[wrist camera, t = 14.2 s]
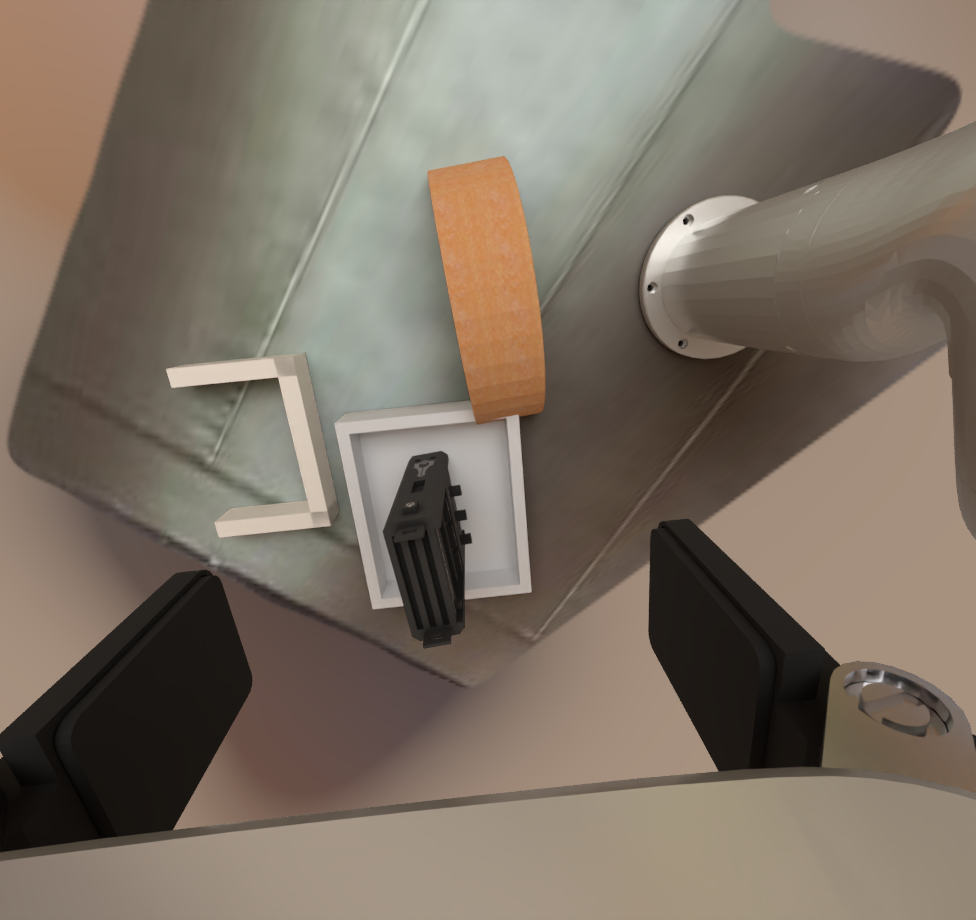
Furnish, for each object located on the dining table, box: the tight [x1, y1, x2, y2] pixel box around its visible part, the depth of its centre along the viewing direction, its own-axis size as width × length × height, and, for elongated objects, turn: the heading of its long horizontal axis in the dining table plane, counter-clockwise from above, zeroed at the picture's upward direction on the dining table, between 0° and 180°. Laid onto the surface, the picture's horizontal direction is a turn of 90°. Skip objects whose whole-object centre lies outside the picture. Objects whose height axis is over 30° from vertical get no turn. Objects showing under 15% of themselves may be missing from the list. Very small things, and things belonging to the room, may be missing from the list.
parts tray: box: [334, 400, 531, 609], centre depth 42 cm, size 15×18×4 cm
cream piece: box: [166, 353, 339, 537], centre depth 40 cm, size 10×15×3 cm, turn 5°
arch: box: [428, 156, 545, 425], centre depth 34 cm, size 6×20×10 cm, turn 10°
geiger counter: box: [383, 451, 472, 649], centre depth 36 cm, size 10×4×15 cm, turn 10°
